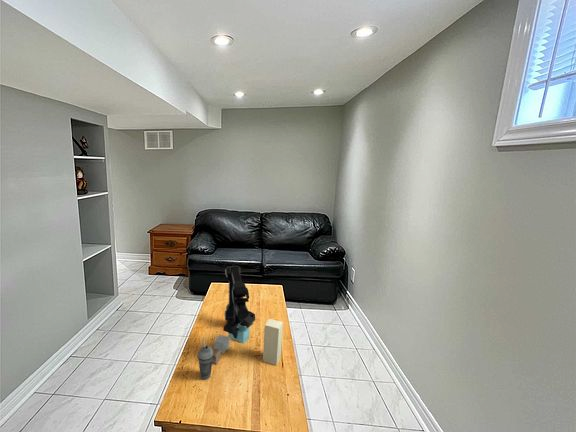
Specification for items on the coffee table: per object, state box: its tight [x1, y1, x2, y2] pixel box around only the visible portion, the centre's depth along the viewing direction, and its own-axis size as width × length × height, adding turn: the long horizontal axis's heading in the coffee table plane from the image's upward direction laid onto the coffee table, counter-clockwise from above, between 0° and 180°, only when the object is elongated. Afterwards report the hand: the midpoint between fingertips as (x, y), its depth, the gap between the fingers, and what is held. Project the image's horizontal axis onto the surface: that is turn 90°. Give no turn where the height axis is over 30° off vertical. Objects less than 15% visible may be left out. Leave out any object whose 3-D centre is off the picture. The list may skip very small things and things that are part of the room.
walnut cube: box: [211, 347, 222, 366], centre depth 138 cm, size 5×5×5 cm
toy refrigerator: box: [262, 318, 284, 366], centre depth 140 cm, size 8×7×21 cm
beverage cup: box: [197, 337, 213, 381], centre depth 126 cm, size 7×7×20 cm
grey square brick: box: [213, 334, 230, 354], centre depth 147 cm, size 6×6×6 cm
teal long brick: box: [227, 324, 250, 344], centre depth 143 cm, size 10×5×6 cm, turn 62°
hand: (238, 335), depth 143 cm, fingers closed on teal long brick, 5 cm apart
